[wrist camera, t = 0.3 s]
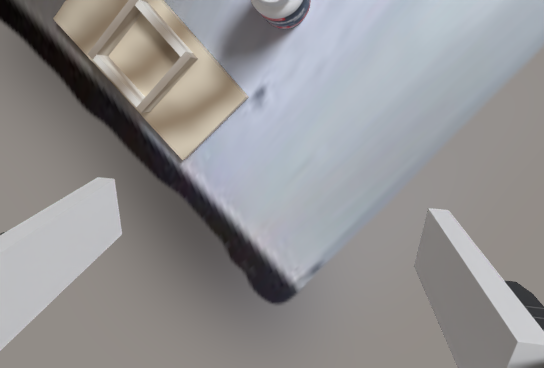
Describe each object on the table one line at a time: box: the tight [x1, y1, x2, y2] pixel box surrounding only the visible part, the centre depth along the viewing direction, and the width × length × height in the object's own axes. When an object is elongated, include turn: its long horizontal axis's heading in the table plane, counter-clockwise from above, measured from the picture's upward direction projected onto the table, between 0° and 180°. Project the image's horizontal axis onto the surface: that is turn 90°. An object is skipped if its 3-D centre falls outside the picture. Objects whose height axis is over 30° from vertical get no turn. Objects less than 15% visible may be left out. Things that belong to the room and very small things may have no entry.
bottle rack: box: [53, 0, 249, 160], centre depth 39 cm, size 22×11×3 cm, turn 43°
